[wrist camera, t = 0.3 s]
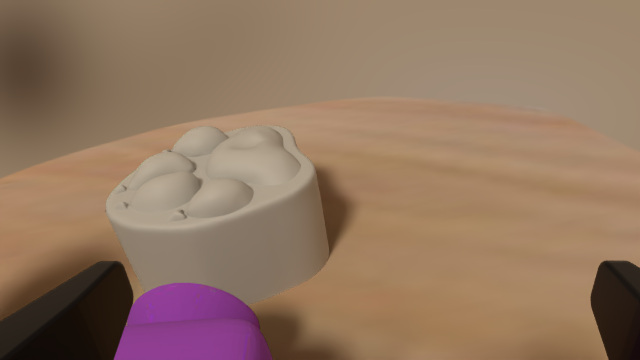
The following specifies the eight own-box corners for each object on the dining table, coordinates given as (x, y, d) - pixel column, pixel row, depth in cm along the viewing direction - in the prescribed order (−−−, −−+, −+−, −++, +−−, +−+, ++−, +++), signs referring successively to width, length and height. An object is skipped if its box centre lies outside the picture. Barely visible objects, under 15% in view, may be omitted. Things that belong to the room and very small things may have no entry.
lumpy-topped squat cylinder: (342, 271, 32) (327, 163, 27) (147, 343, 29) (90, 237, 24) (295, 191, 40) (277, 97, 35) (140, 241, 37) (96, 147, 32)
